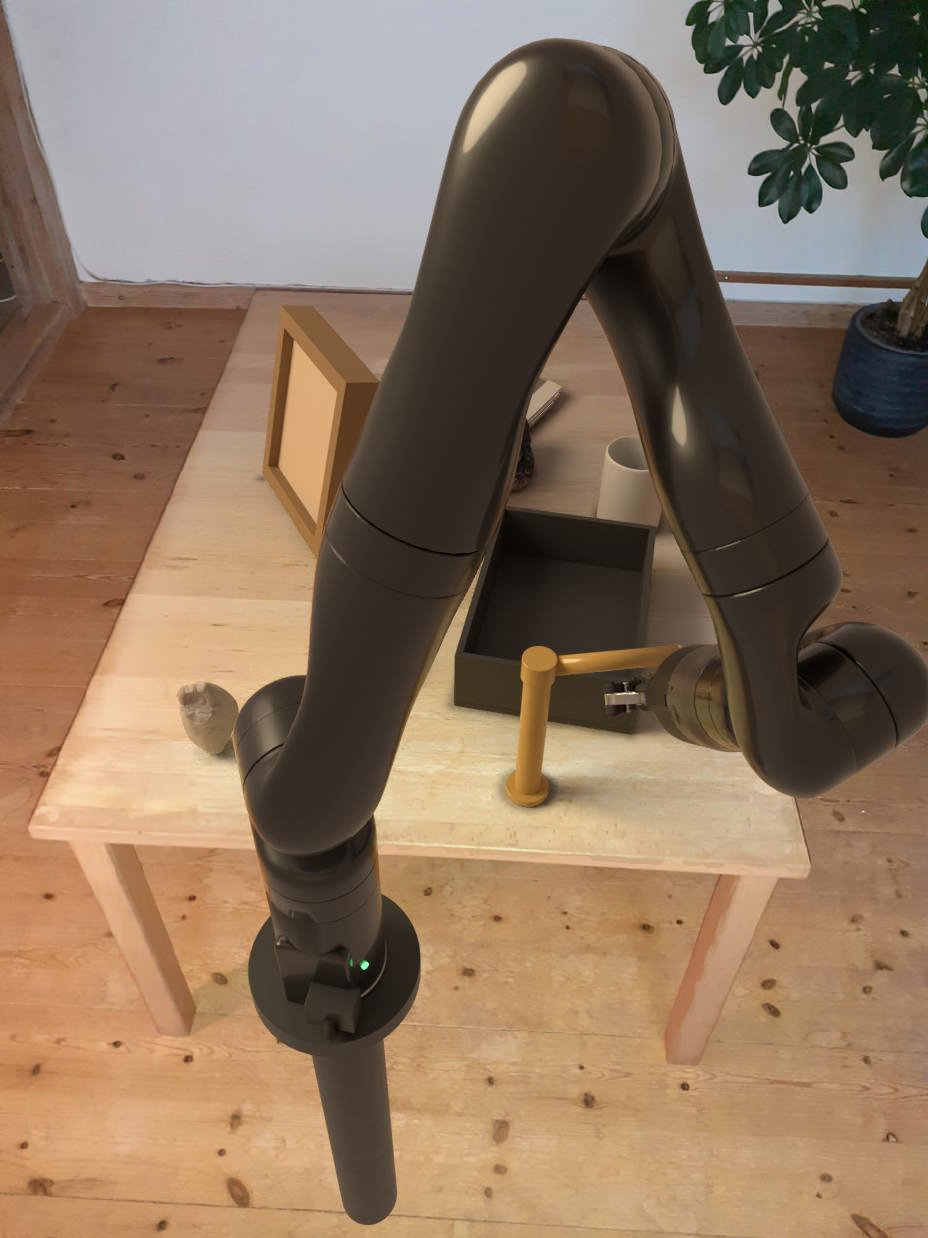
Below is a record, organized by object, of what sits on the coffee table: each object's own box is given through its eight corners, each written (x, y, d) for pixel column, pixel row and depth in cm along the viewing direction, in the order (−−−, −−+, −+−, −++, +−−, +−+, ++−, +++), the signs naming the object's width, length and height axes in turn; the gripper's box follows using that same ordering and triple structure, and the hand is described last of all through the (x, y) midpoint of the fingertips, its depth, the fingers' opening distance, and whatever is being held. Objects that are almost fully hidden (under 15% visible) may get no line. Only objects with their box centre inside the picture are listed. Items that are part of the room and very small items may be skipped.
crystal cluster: (477, 511, 137) (488, 452, 130) (426, 458, 144) (433, 399, 137) (552, 487, 143) (566, 430, 136) (500, 437, 150) (510, 380, 143)
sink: (630, 734, 107) (640, 685, 101) (453, 705, 109) (454, 656, 104) (647, 574, 126) (656, 525, 121) (497, 552, 129) (500, 504, 124)
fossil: (242, 727, 106) (228, 663, 100) (248, 751, 104) (235, 686, 97) (188, 742, 105) (170, 677, 98) (193, 766, 102) (176, 701, 96)
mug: (600, 539, 131) (609, 471, 124) (592, 501, 138) (601, 434, 130) (689, 539, 132) (704, 471, 124) (677, 502, 138) (691, 434, 130)
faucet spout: (522, 708, 90) (525, 672, 86) (516, 683, 92) (519, 647, 89) (689, 691, 92) (699, 656, 88) (679, 667, 94) (688, 631, 91)
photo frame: (318, 566, 126) (299, 393, 109) (262, 478, 140) (238, 313, 123) (422, 534, 132) (419, 365, 115) (358, 453, 146) (347, 291, 129)
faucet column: (545, 810, 99) (558, 699, 88) (502, 802, 100) (510, 691, 88) (551, 776, 102) (564, 665, 91) (509, 769, 103) (518, 657, 92)
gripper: (803, 636, 71) (715, 640, 88) (624, 652, 69) (570, 653, 86) (813, 740, 70) (723, 723, 88) (634, 758, 69) (578, 738, 86)
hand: (647, 688), depth 87 cm, fingers closed
